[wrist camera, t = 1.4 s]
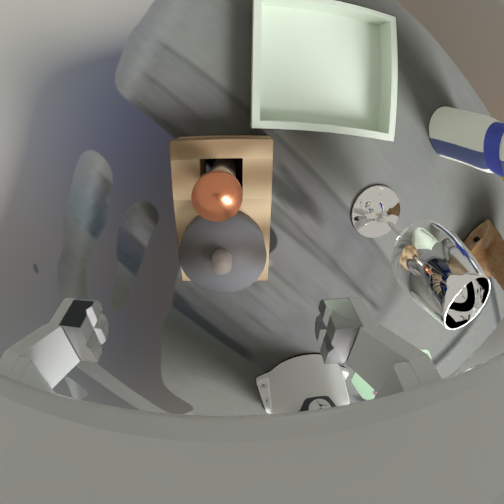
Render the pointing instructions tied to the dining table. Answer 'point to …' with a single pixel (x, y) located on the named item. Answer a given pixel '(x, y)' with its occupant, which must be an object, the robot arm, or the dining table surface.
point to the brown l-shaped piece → (488, 250)
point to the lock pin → (218, 192)
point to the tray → (323, 68)
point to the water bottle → (468, 139)
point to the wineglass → (426, 259)
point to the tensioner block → (229, 231)
